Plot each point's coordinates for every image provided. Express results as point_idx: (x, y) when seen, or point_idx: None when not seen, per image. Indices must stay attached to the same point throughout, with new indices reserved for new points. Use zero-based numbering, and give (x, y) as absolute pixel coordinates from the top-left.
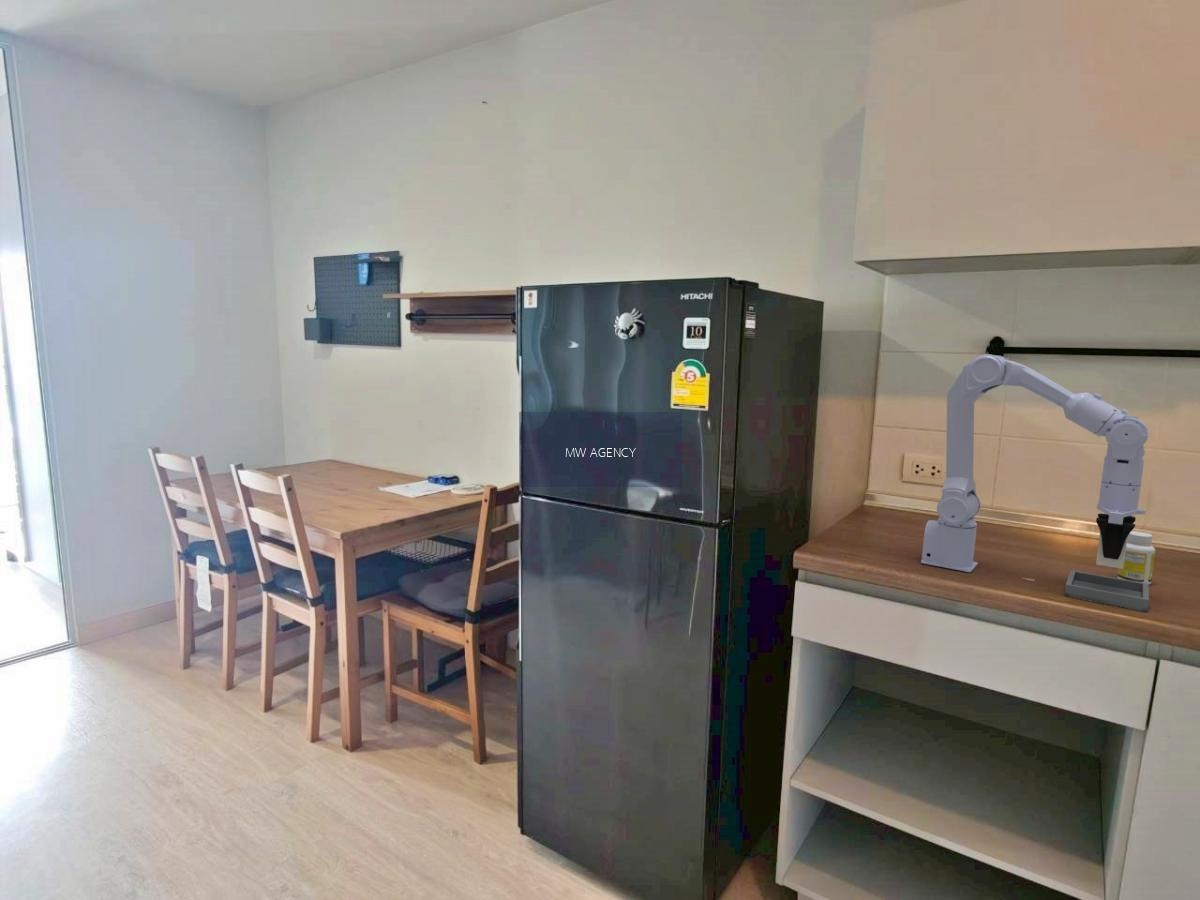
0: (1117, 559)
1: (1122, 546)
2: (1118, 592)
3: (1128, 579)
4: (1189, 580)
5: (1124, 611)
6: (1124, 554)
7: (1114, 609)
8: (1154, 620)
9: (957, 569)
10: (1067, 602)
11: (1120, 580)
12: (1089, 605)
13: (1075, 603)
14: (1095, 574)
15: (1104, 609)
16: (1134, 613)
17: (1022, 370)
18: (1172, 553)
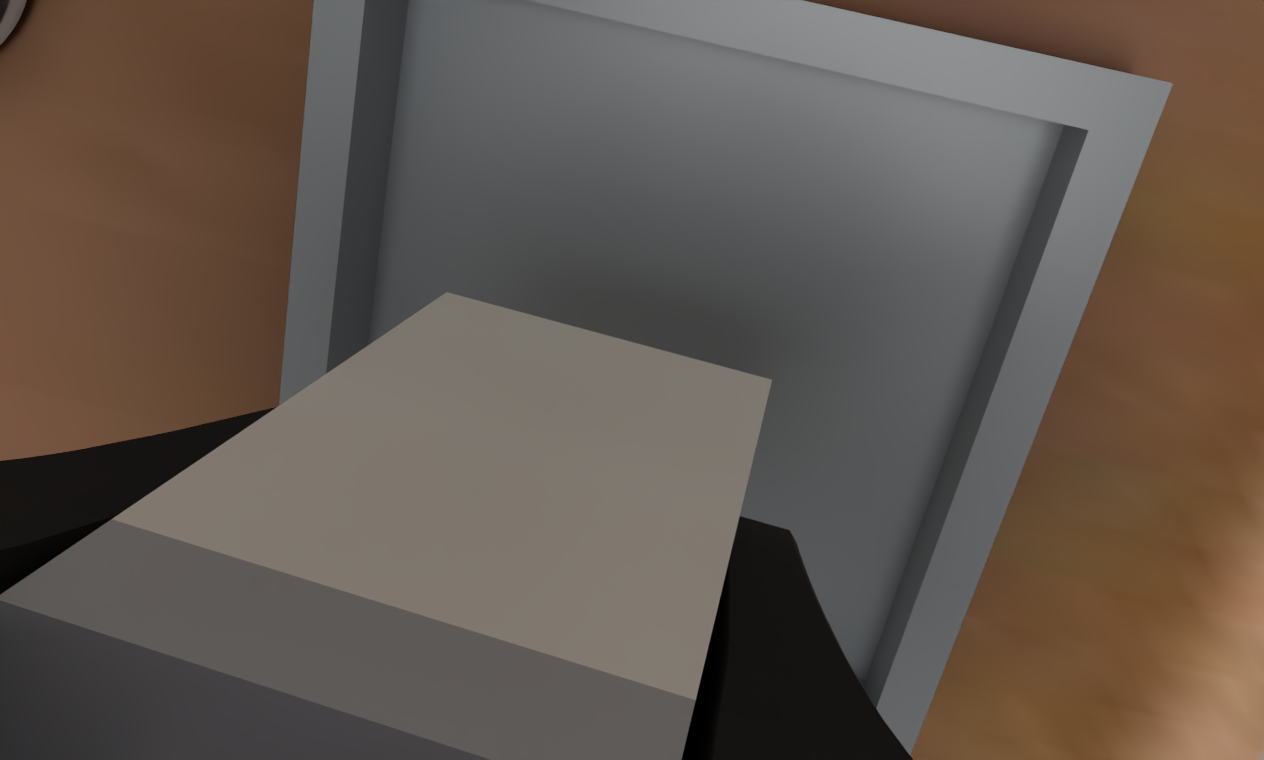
0: (789, 533)
1: (845, 657)
2: (585, 227)
3: (4, 2)
4: None
5: (1191, 304)
6: (743, 482)
7: (1157, 383)
8: None
9: None
10: (1101, 733)
11: (352, 186)
12: (1115, 575)
13: (1103, 676)
14: (283, 396)
15: (1202, 477)
16: (1227, 220)
17: None
18: None
